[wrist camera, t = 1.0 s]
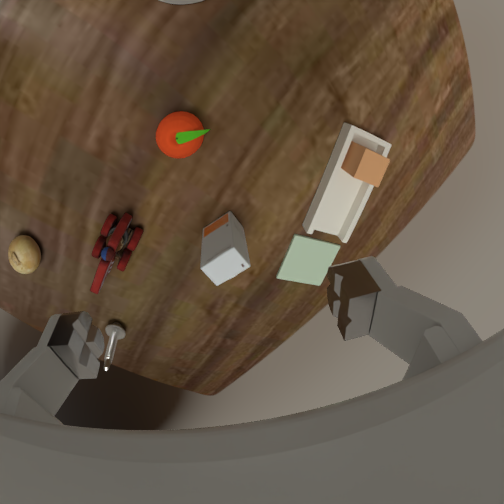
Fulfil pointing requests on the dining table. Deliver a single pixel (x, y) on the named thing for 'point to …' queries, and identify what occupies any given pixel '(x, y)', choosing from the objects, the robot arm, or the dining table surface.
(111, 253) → the toy fire truck
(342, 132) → the chute
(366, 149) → the block
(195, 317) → the dining table surface
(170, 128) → the clementine
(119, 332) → the screw
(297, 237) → the pad
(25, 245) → the onion
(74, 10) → the dining table surface
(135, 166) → the dining table surface
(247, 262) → the skincare box
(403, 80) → the dining table surface
